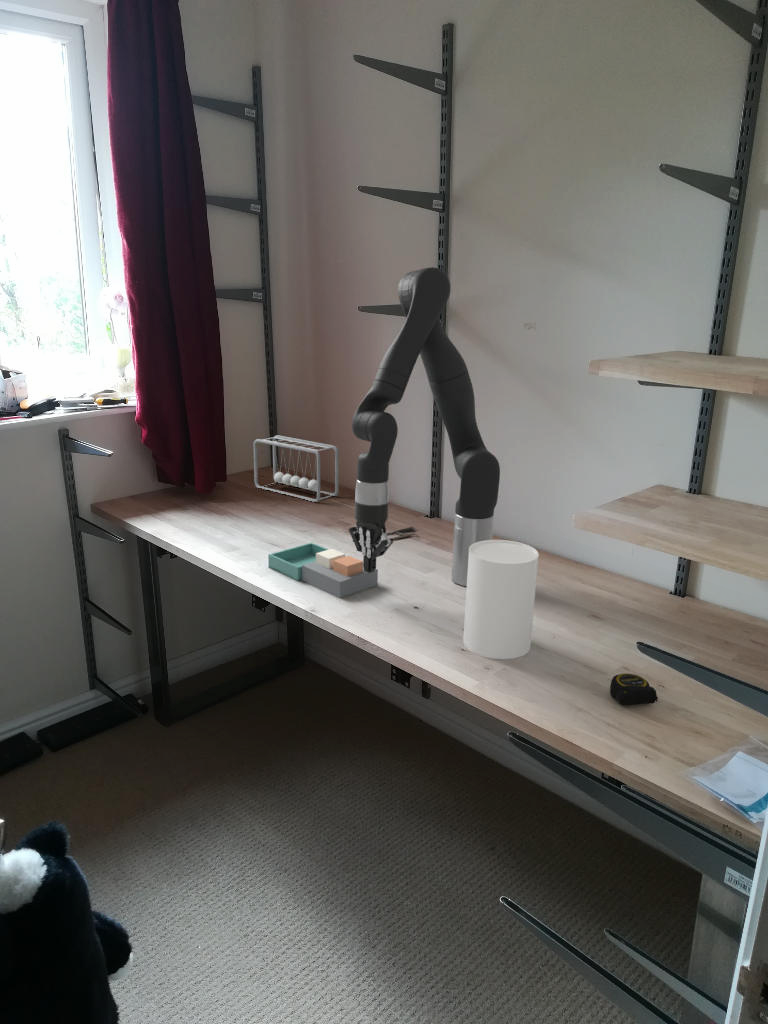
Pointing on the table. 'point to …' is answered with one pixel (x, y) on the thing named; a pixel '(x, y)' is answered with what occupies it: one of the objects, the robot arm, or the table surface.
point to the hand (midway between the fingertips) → (369, 571)
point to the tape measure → (632, 690)
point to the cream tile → (328, 557)
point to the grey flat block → (337, 580)
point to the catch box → (294, 559)
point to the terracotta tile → (348, 566)
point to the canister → (500, 598)
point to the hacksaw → (401, 533)
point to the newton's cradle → (296, 480)
